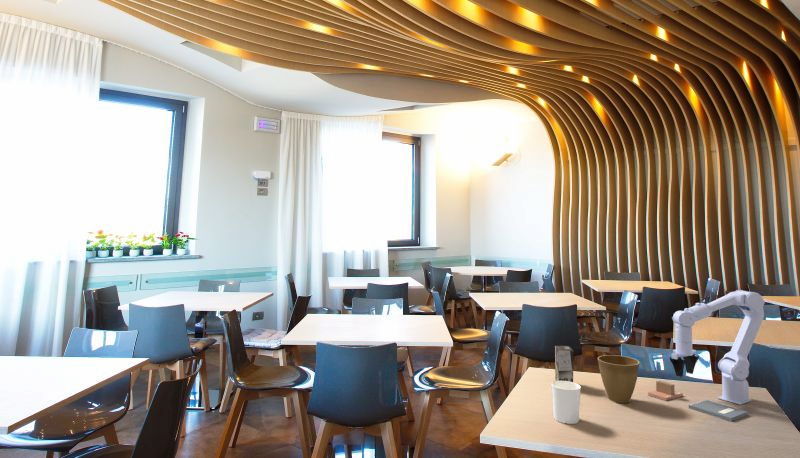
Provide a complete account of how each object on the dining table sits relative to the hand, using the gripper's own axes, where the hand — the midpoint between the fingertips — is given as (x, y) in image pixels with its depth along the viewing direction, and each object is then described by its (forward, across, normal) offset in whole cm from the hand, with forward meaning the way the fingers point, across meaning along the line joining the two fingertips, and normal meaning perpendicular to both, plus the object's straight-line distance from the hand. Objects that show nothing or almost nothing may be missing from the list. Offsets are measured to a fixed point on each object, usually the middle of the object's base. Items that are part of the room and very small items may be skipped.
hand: (684, 374), depth 177 cm
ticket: (+9, +4, +14) cm, 17 cm away
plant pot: (+9, +27, -11) cm, 30 cm away
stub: (+9, +4, -5) cm, 12 cm away
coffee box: (+9, +31, -34) cm, 47 cm away
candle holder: (+9, +60, -8) cm, 62 cm away
